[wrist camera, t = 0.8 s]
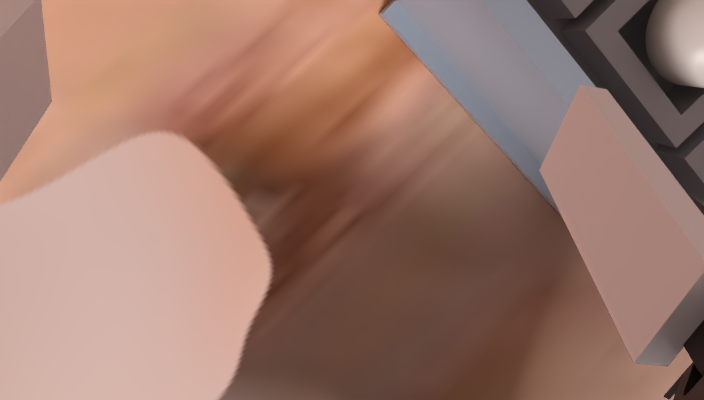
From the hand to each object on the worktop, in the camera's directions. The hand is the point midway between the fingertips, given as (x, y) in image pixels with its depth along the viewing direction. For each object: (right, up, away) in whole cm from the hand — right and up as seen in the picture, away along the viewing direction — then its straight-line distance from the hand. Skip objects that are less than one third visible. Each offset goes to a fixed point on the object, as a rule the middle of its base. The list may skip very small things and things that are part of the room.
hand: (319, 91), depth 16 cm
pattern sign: (+11, +1, +21) cm, 23 cm away
